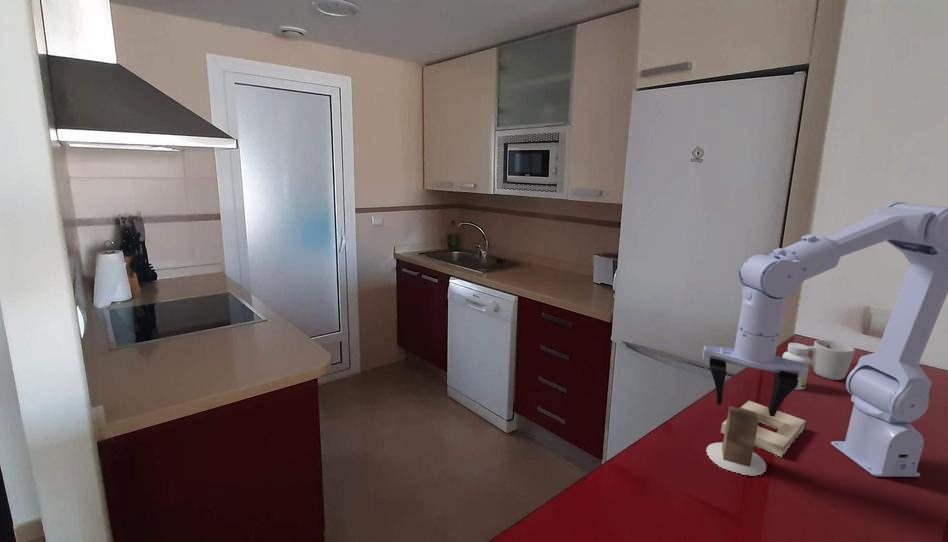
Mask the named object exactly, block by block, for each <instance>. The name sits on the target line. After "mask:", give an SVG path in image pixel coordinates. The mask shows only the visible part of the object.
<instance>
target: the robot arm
mask: <svg viewBox="0 0 948 542" xmlns="http://www.w3.org/2000/svg"><path fill="white" fill-rule="evenodd" d="M800 239H801V240H800V241H797V242H795V243H793V244H791V245H788V246H786V247H783V248H781V247H777V248H776V249H773V251H772V252H771V253H770V254H769V255H766V254H755V255H753V256H751V257H749V258H748V259H747V260H746V261H745V262H744V263H743V264H742V266H741V268H740V269H738V270H737V279H738V281H739V283H740V285H741V295H742V298H741V299H742V301H741V307H740V312H739V313H740V314H739V318H738V324H737V331H736V336H735V337H736V338H735V343H734V348H732V347H717V346H716V347H715V346H708V345H704V347H703V353H702V361H704V362H705V361H706V362H709V369H710V372H711V374H712V379H713V382H714V385H715V391H716V405H718V406H722V404H723V395H724V393H723V392H724V385H725V380H726V376H727V364H730V365H736V366H741V367H746V368H752V369H756V370H762V371H763V370H764V371H768V372H774V379H773V386H772V392H771V395H770V396H771V397H770V399H769V403H768V407H769V409H768V411H769V414H770V416H773V417H775V415H776V412H777V411H779V408H780V406H781V405H782V403H783V402H784V400H785V399H786V398H787V397H788V396H789V395H790V394H791V393H792V392H793V391H794V390H796V389H795V388H796V386H797V385H798V379H797V377H798V378H803V379H806V376H807V371H808V367H807V365H806V363H802V362H797V361H793V360H789V359H785V358H782V356H777V355H776V352H777V348H778V343H779V337H780V330H781V326H782V320H783V315H784V309H785V304H786V299H787V297H790V296H792V294H793V293H795V291H796V290H798V289H797V288H798V287H799V286H800V284H803V283H804V282H805V281H806V280H810V279H811V278H813V277H816V276H819V275H820V274H822V273H825V272H828V271H829V270H832V269H834V268H836V267H837V266H838V265H839V262H840V259H841V257H845V256H848V255H850V254H851V253H855V252H858V251H861V250H863V249H866V248H869V247H872V246H876V245H877V244H880V243H883V242H887V243H889V245H891V246H893V247H894V248H895V249H897V250H898V251H899V252H901V253H902V254H903V255H904V257H905V258H906V260H907V261H908V262H909V264H910V265H909V267H908V270H907V273H906V275H905V278H904V280H903V283H902V286H901V289H900V291H899V294H898V295H897V298H896V300H895V301H896V302H895V303H894V307H893V308H892V311H891V313H890V317H889V319H888V322H887V324H886V327H885V329H884V331H883V335H882V337H881V340H880V342H879V345H878V348H877V351H875V352H873V353H869V354H865V355H862V356H861V357H859V359H858V362H857V364H856V365H855V367H854V368H853V369H852V370H851V371H850V372H849V374H848V375H847V377H846V381H845V387H846V390H847V392H848V393H849V394H850V395H851V397H850V402H852V403H853V407H852V411H851V414H850V415H851V416H850V419H849V422H848V423H849V424H848V428H847V432H846V437H845V439H844V440H845V441H844V440H843V441H841V440H839V441H835V440H834V441H831V442H830V444H831V446H833V447H834V448H835V449H837V450H839V451H840V452H841V453H843V454H844V455H845V456H847V457H848V458H849V459H851V460H852V461H853V462H854V463H856V464H857V465H858V466H860V467H861V468H862V469H864V470H865V471H867V472H868V473H870V474H871V475H872V476H874V477H887V478H888V477H894V478H895V477H900V478H901V477H908V478H909V477H911V478H916V477H917V478H919V477H920V476H921V473H920V472H918V467H919V463H920V460H921V456H922V452H923V448H924V445H925V441H924V437H923V435H922V434H921V432H919V431H918V430H917V429H916V428H915V427H913V425H912V424H911V423H914V421H917V420H918V419H919V418H921V417H922V416H923V415H924V414H926V412H927V410H928V407H929V402H930V398H929V394H930V390H931V386H932V384H933V383H932V381H931V380H930V378H929V376H927V374H926V372H925V371H924V370H923V368H922V367H921V365H920V361H921V359H922V356H923V354H924V352H925V349H926V347H927V344H928V342H929V341H930V338H931V334H932V332H933V330H934V327H935V324H936V322H937V320H938V318H939V315H940V313H941V311H942V308H943V305H944V303H945V301H946V298H947V296H948V206H937V205H929V204H928V205H927V204H916V203H915V204H914V203H907V202H902V201H895V202H891V203H889V204H887V205H885V206H882V207H878V208H876V209H875V210H874V212H873V214H872V215H870V216H868V217H866V218H864V219H862V220H860V221H858V222H856V223H854V224H852V225H850V226H848V227H846V228H844V229H841V230H840V231H838V232H836V233H834V234H832V235H830V236H828V237H826V236H824V235H821V234H808V233H807V234H805V235H802V236H801V237H800Z"/></svg>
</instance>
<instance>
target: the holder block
mask: <svg viewBox="0 0 948 542" xmlns="http://www.w3.org/2000/svg"><path fill="white" fill-rule="evenodd" d="M739 408H740V409H744V410H749V411H753V412H756V415H757V420H758V424H759V423H762V424H765V425H767V426H770V427H772V428H774V429H773V430H775V429H777V430H776V432H774V431H771V430H769V429H767V428H764V427H761V426H759V425H758V427H757V432H756V438H755V443H754V446H756V447H758V448H757V449H759V448H761V449H764V450H766V451H768V452H771V453H773V454H775V455H774V456H776V455H777V456H776V457H778V456H780V457H781V458H782V457H783V456H784V455H785V453H786V452H787V451H788V450H789V449H790V447H791V446H792V445H793V444H794V442H795V441H796V440H797V439H798V437H799V436H800V435H801V434H802V432H803V431H804V430H803V429H805V425H806V419H802V418H799V417H796V416H794V415H791V414H788V413H785V412H782V411H780V410H777V412H776V415H775V417H773V416H770V414H769V411H768V409H769V406H765V405H762V404H760V403H756V402H754V401H751V400H748V401H746V402H745V403H744V404H743V405H742V406H740V407H739ZM726 422H727V419H725V420H724V421H723V422H722V423H721V429H720V434H722V433H723V434H722V435H724V434H725V428H726ZM762 424H761V425H762ZM765 425H764V426H765ZM767 426H766V427H767ZM770 427H769V428H770ZM772 428H771V429H772ZM800 433H801V434H800ZM799 434H800V435H799ZM798 435H799V436H798ZM796 438H797V439H796ZM795 439H796V440H795ZM792 443H793V444H792ZM791 444H792V445H791ZM756 447H755V448H756ZM788 448H789V449H788ZM761 449H760V450H761ZM787 449H788V450H787ZM766 451H765V452H766ZM768 452H767V453H768ZM771 453H770V454H771ZM773 454H772V455H773ZM783 454H784V455H783ZM782 455H783V456H782ZM780 457H779V458H780Z"/></svg>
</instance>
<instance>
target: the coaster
mask: <svg viewBox="0 0 948 542" xmlns="http://www.w3.org/2000/svg"><path fill="white" fill-rule="evenodd" d="M722 446H723V441H721V442H714V443H710V444H709V445H708V446H707V447H706V449H705V450H706V451H705V452H707V454H706V456H707V455H708V456H709V458H710V459H711V460H712V461H713V462H714V463H715V464H717V465H718V466H719V468H720V467H721V468H720V469H722V468H723V469H726V470H729V471H732V472H736V473H740V474H742V475H749V476H755V477H757V476H756V475H760V476H761V474H762V475H764V474H765V473H764V472H766V470H767V463H766V462H765V460H764V459H763V458H762V457H761V456H760V455H759V454H757V453H755V451H753V454H752V459H751V465H750V466H746V465H742V464H738V463H734V462H730V461H727V460H723V451H722ZM709 458H708V459H709ZM710 459H709V460H710ZM713 462H712V463H713ZM714 463H713V464H714ZM715 464H714V465H715ZM717 465H716V466H717ZM718 466H717V467H718ZM723 469H722V470H723ZM726 470H725V471H726ZM763 473H764V474H763Z"/></svg>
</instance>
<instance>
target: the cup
mask: <svg viewBox="0 0 948 542" xmlns="http://www.w3.org/2000/svg"><path fill="white" fill-rule="evenodd" d="M807 346H808V345H807ZM808 347H809V352H811V354H812V357H810V359H811V362H810V367H812V370H813V373H814V374H816V375H817V376H819V377H822V378H824V379H828V380H834V381H838V380H839V381H840V380H844V379H845V378H846V376H847V374H848V372H849V369H850V367H851V363H852V361H853V359H854V356H855V353H856V349H855V348H854V347H853V346H852V345H849V344H846V343H843V342H840V341H836V340H829V339H817V340H815V341H814V343H813V345H809V346H808Z"/></svg>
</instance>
